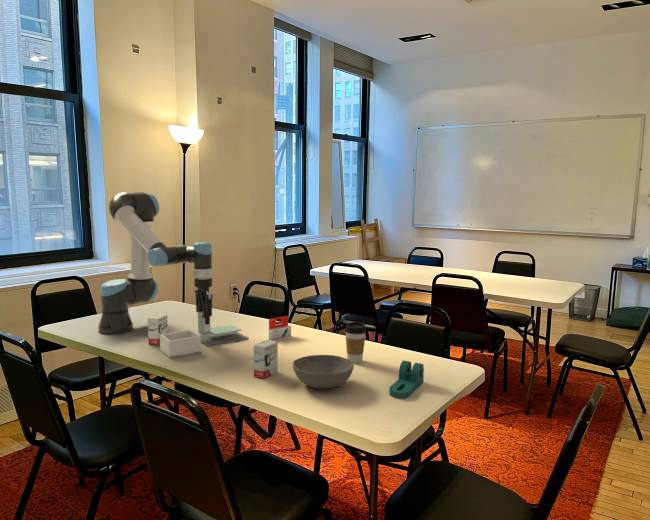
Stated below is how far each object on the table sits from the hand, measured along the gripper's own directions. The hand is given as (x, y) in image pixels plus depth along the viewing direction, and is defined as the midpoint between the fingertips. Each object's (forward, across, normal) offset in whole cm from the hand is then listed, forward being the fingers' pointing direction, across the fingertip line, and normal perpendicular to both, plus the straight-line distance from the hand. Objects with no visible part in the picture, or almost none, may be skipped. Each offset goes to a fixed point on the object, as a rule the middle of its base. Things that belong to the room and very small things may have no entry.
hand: (204, 329), depth 218 cm
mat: (+5, 0, +8) cm, 10 cm away
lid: (+2, 0, +7) cm, 7 cm away
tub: (+5, +8, -14) cm, 17 cm away
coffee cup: (+6, +58, +38) cm, 69 cm away
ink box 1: (+5, -10, -17) cm, 20 cm away
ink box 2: (+6, +50, +2) cm, 50 cm away
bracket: (+6, +89, +34) cm, 95 cm away
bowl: (+6, +70, +13) cm, 71 cm away
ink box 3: (+6, +15, +30) cm, 34 cm away
